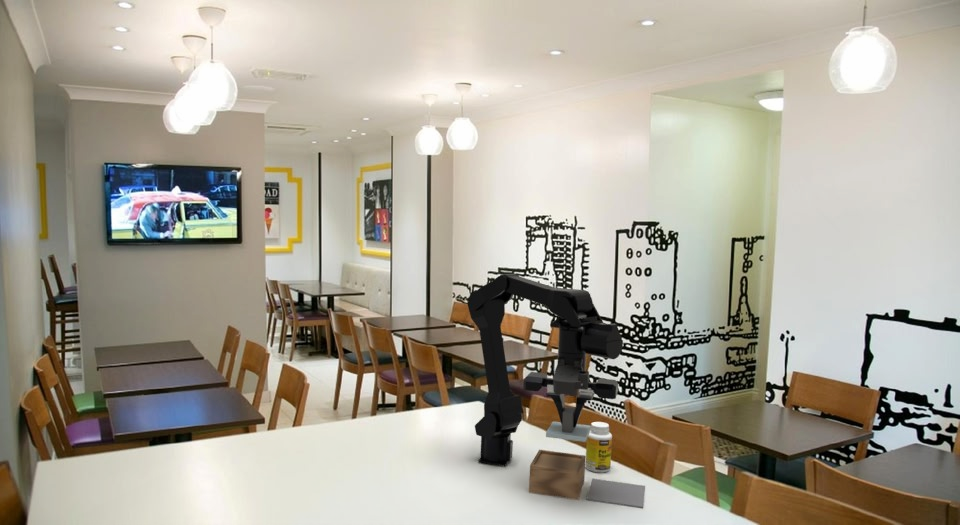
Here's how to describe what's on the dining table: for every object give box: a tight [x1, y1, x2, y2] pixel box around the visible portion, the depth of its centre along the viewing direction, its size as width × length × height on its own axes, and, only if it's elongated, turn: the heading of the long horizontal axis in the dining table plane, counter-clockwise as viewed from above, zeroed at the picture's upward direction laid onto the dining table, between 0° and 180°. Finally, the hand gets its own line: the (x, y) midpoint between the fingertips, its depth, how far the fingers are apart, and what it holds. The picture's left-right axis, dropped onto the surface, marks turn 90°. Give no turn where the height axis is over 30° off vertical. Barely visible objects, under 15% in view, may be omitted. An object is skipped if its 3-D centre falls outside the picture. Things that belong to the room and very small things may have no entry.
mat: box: [585, 478, 646, 509], centre depth 134 cm, size 11×11×1 cm
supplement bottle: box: [585, 421, 613, 474], centre depth 147 cm, size 6×6×10 cm
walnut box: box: [528, 449, 586, 500], centre depth 136 cm, size 10×10×6 cm
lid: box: [545, 405, 591, 443], centre depth 135 cm, size 8×8×5 cm
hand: (569, 426), depth 135 cm, fingers closed on lid
